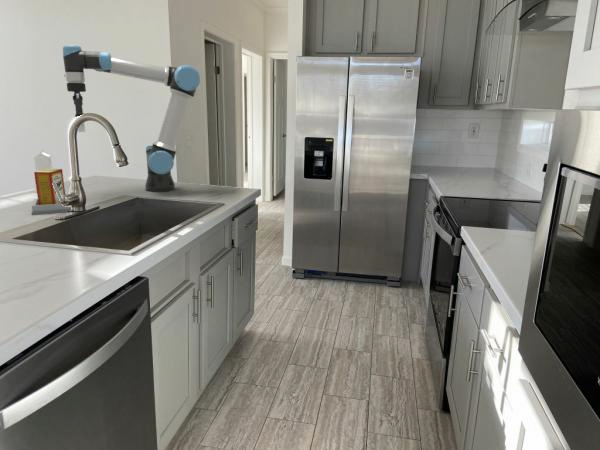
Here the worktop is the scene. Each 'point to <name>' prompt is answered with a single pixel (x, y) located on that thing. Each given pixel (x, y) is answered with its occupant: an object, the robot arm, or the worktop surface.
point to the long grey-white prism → (43, 161)
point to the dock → (48, 208)
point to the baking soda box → (49, 185)
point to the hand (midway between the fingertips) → (81, 130)
